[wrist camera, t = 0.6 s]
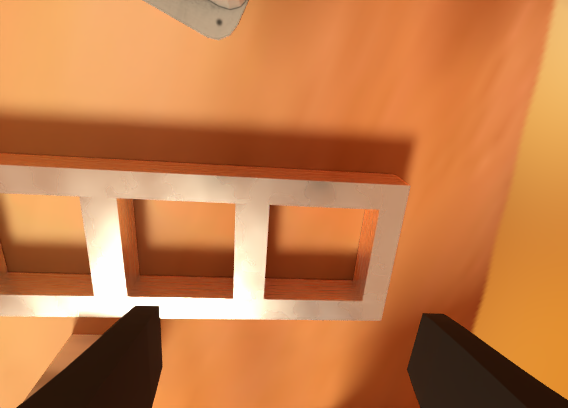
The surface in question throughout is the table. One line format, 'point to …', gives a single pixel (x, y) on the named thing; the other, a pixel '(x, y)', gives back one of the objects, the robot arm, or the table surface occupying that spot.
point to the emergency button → (205, 14)
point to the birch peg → (65, 357)
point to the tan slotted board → (248, 240)
